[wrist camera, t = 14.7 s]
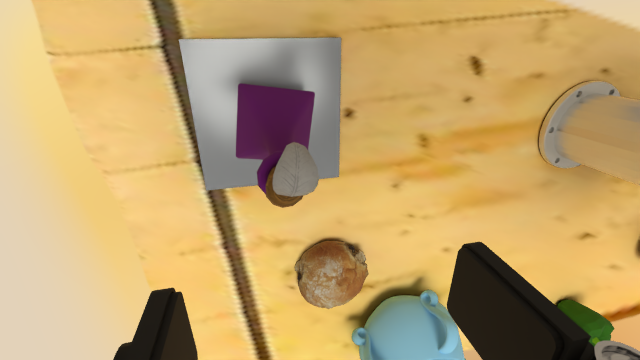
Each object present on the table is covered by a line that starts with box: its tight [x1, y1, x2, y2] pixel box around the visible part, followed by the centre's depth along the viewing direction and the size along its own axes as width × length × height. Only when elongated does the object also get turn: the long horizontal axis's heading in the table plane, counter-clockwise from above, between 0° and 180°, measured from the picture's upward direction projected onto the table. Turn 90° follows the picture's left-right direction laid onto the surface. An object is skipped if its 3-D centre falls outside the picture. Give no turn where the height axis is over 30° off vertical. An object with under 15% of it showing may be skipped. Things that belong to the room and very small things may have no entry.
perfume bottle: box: [236, 83, 319, 208], centre depth 26 cm, size 8×8×18 cm
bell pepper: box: [557, 300, 614, 346], centre depth 59 cm, size 8×8×10 cm
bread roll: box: [295, 241, 368, 309], centre depth 44 cm, size 10×10×8 cm
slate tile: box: [179, 38, 341, 190], centre depth 35 cm, size 16×16×1 cm
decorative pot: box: [352, 290, 466, 360], centre depth 48 cm, size 16×16×14 cm
